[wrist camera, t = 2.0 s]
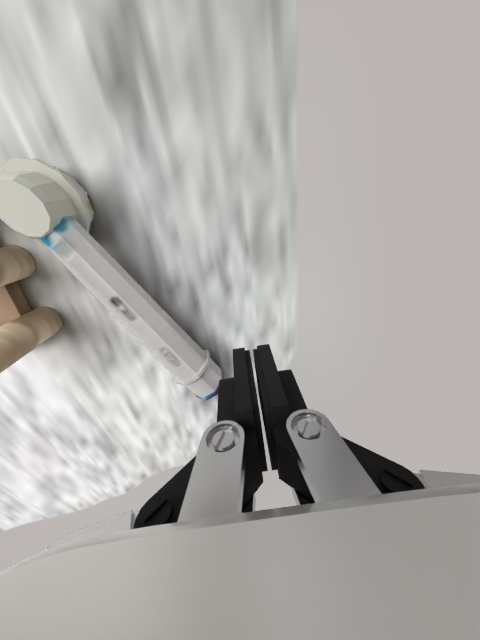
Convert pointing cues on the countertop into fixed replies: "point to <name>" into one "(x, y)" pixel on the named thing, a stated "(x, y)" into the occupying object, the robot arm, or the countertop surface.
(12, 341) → the peg rack
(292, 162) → the countertop surface
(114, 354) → the countertop surface
